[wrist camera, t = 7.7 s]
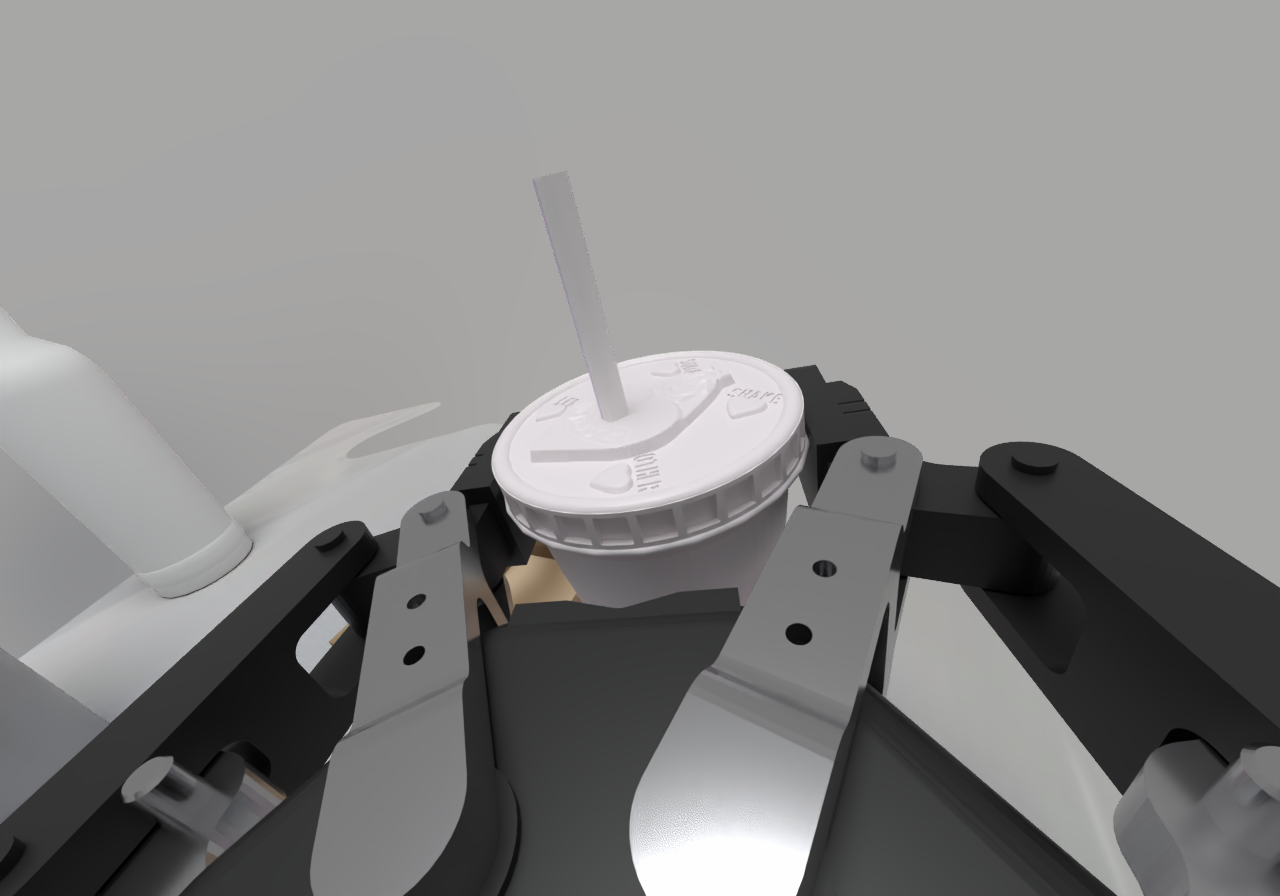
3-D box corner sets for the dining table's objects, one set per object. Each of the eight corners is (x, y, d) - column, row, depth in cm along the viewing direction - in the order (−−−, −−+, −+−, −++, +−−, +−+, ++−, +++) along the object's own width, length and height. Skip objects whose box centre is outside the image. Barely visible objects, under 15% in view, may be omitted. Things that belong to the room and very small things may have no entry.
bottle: (263, 528, 50) (13, 228, 35) (242, 572, 44) (-77, 228, 29) (179, 562, 48) (-125, 259, 33) (143, 614, 42) (-254, 266, 27)
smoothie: (577, 664, 16) (372, 222, 9) (729, 574, 18) (658, 151, 11) (672, 870, 11) (365, 211, 4) (871, 713, 13) (911, 80, 6)
